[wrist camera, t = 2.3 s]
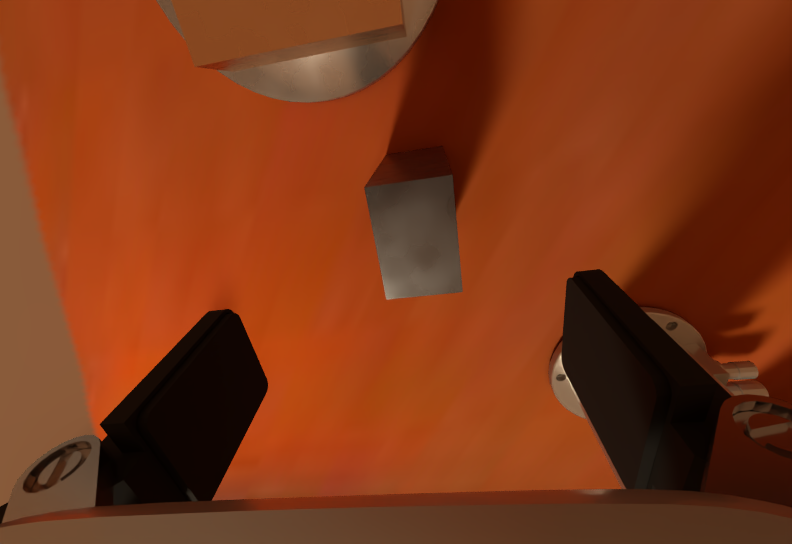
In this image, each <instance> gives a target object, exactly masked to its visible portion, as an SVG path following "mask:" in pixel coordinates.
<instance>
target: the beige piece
mask: <svg viewBox="0 0 792 544" xmlns="http://www.w3.org/2000/svg"><path fill="white" fill-rule="evenodd" d="M156 1H157V2H158V4H159V5H160V7H161V8H162V10H163V11H164V13H165V14H166V16H167V17H168V19H169V21H170V22H171V23H172V25H173V26H174V27H175V28H176V30H177V31H178V32H179V33H180V35H181V36H182V37H183V38H184V40H185V41H186V43H187V46H188V49H189V52H190V55H191V57H192V60H193V63H194V66H195V67H200V68H208V69H215V70H218V71H219V72H220V73H222V74H223V75H225V76H226V77H228V78H229V79H231V80H232V81H234V82H236V83H237V84H239V85H241V86H243V87H245V88H247V89H249V90H251V91H254V92H256V93H259V94H262V95H265V96H268V97H271V98H275V99H280V100H285V101H290V102H320V101H330V100H335V99H339V98H343V97H347V96H350V95H352V94H354V93H357V92H359V91H361V90H364V89H366V88H367V87H369V86H371V85H372V84H374V83H376V82H377V81H379V80H380V79H382V78H383V77H384V76H385V75H386V74H388V73H389V72H390V71H391V70H393V69H394V68H395V67H396V66H397V65H398V64H399V63H400V62H401V60H402V59H403V58H404V57H405V56H406V55H407V54H408V53H409V52H410V50H411V49H412V47H413V46H414V45H415V43H416V42H417V40H418V39H419V38H420V36H421V35H422V33H423V31H424V29H425V28H426V26H427V24H428V22H429V20H430V18H431V17H432V15H433V12H434V10H435V8H436V5H437V3H438V0H156Z"/></svg>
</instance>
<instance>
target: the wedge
mask: <svg viewBox="0 0 792 544" xmlns="http://www.w3.org/2000/svg"><path fill="white" fill-rule="evenodd" d="M364 188H365V193H366V198H367V203H368V208H369V213H370V218H371V224H372V229H373V234H374V239H375V244H376V249H377V254H378V259H379V264H380V269H381V274H382V279H383V284H384V289H385V294H386V299H396V298H406V297H416V296H426V295H437V294H447V293H457V292H462V280H461V268H460V256H459V245H458V233H457V221H456V209H455V197H454V185H453V175H452V172H451V169H450V166H449V163H448V160H447V158H446V155H445V152H444V149H443V146H439V147H432V148H426V149H419V150H413V151H407V152H400V153H394V154H387V155H386V156H385V157H384V159H383V160H382V162H381V163H380V165H379V166H378V168H377V169H376V171H375V172H374V174H373V175H372V177H371V178H370V180H369V181H368V183H367V184H366V186H365V187H364Z"/></svg>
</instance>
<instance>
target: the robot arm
mask: <svg viewBox="0 0 792 544" xmlns="http://www.w3.org/2000/svg"><path fill="white" fill-rule="evenodd" d="M757 377H758V369H757V367H756V366H755V365H754V363H752V362H750V361H740V362H728V363H722V364H721V363H719V362H718V361H715V360H713V359H712V358H711V357H710V356H709V355H708V354H707V349H706V344H705V342H704V340H703V338H702V336H701V334H700V333H699V332H698V331H697V330H696V329H695V328H694V327H693V326H692V325H691V324H689V323H688V322H687V321H685V320H684V319H683V318H682V317H680V316H678V315H676V314H674V313H671V312H669V311H666V310H662V309H657V308H650V307H639V306H638V305H637V304H636V303H635V302H634V301H633V300H632V299H631V298H630V297H629V296H628V295H627V294H626V293H625V292H624V291H623V290H622V289H621V288H620V287H619V286H617V285H616V284H615V283H614V282H613V281H612V280H611V279H610V278H609V277H608V276H607V275H606V274H605V273H604V272H603V271H602V270H600V269H597V270H588V271H579V272H576V273H575V274H574V277H573V278H568V280H567V285H566V299H565V312H564V326H563V340H562V341H561V342H560V344H559V345H558V347H557V348H556V350H555V352H554V353H553V356H552V359H551V361H550V365H549V380H550V384H551V387H552V389H553V392H554V394H555V396H556V397H557V399H558V401H559V402H560V403H561V404H562V405H563V406H564V407H565V408H566V409H567V410H569V411H570V412H572V413H574V414H575V415H577V416H580V417H582V418H585V419H587V421H588V423H589V425H590V427H591V429H592V431H593V433H594V435H595V437H596V439H597V441H598V443H599V445H600V446H601V448H602V450H603V452H604V454H605V456H606V458H607V460H608V462H609V464H610V466H611V468H612V470H613V472H614V474H615V476H616V478H617V480H618V482H619V484H620V486H621V488H622V489H596V490H528V491H492V492H456V493H419V494H387V495H356V496H326V497H297V498H268V499H242V500H217V501H211V500H212V499H213V497H214V495H215V493H216V491H217V489H218V487H219V485H220V483H221V481H222V479H223V477H224V475H225V473H226V471H227V469H228V467H229V465H230V463H231V461H232V459H233V458H234V456H235V454H236V452H237V450H238V448H239V446H240V444H241V442H242V440H243V438H244V436H245V434H246V432H247V430H248V428H249V426H250V424H251V422H252V420H253V418H254V416H255V414H256V412H257V410H258V408H259V406H260V404H261V402H262V400H263V398H264V397H265V395H266V392H267V389H268V381H267V378H266V376H265V374H264V371H263V369H262V367H261V365H260V362H259V360H258V358H257V355H256V353H255V351H254V349H253V346H252V344H251V342H250V339H249V337H248V335H247V332H246V330H245V328H244V326H243V323H242V321H241V319H240V317H239V315H238V314H236V313H234V312H233V311H232V310H229V309H225V310H216V311H209V312H208V313H206V314H205V315H204V316H203V317H202V318H201V319H200V321H199V322H198V323H197V324H196V325H195V326H194V327H193V328H192V329H191V330H190V331H189V332H188V333H187V334H186V335H185V336H184V337H183V338H182V339H181V340H180V341H179V342H178V343H177V344H176V346H175V347H174V348H173V349H172V350H171V351H170V352H169V353H168V354H167V355H166V356H165V357H164V358H163V359H162V360H161V361H160V362H159V363H158V364H157V365H156V366H155V367H154V368H153V369H152V370H151V372H150V373H149V374H148V375H147V376H146V377H145V378H144V379H143V380H142V381H141V382H140V383H139V384H138V385H137V386H136V387H135V388H134V389H133V390H132V391H131V392H130V393H129V394H128V395H127V397H126V398H125V399H124V400H123V401H122V402H121V403H120V404H119V405H118V406H117V407H116V408H115V409H114V410H113V411H112V412H111V413H110V414H109V415H108V416H107V417H106V418H105V419H104V420H103V421H102V423H101V424H100V426H101V427H102V428H103V429H104V431H105V432H106V433H107V434H108V435H107V437H106V438H105V439H104V440H103V441H101V440H100V439H99V438H98V437H96V436H94V435H84V436H80V437H76V438H73V439H71V440H68V441H66V442H64V443H62V444H60V445H58V446H57V447H55V448H53V449H51V450H50V451H48V452H47V453H46V454H44V455H43V456H41V457H40V458H39V459H37V460H36V461H35V462H34V463H33V464H32V465H31V466H30V467H28V468H27V470H25V472H24V473H23V474H22V475H21V477H20V478H19V479H18V480H17V482H16V484H15V486H14V488H13V490H12V493H11V496H10V499H9V502H8V503H6V504H4V505H3V506H1V507H0V544H792V404H791V403H788V402H785V401H783V400H779V399H775V398H771V397H769V394H768V391H767V389H766V388H765V387H764V385H763V384H762V383H760V382H758V381H757V380H747V381H730V382H728V379H734V380H738V379H755V378H757ZM727 382H728V383H727Z"/></svg>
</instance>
